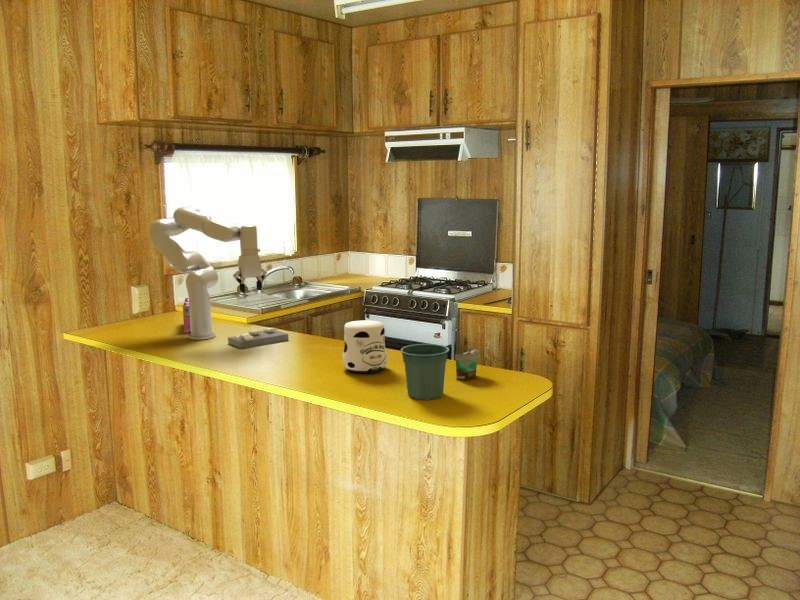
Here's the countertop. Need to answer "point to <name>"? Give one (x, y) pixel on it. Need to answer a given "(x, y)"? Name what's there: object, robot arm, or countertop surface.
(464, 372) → the food container
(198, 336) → the robot arm
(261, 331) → the rocker mid
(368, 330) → the milk container
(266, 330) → the rocker far
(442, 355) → the flower pot
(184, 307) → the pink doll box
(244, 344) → the switch panel
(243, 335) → the rocker near
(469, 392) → the countertop surface
